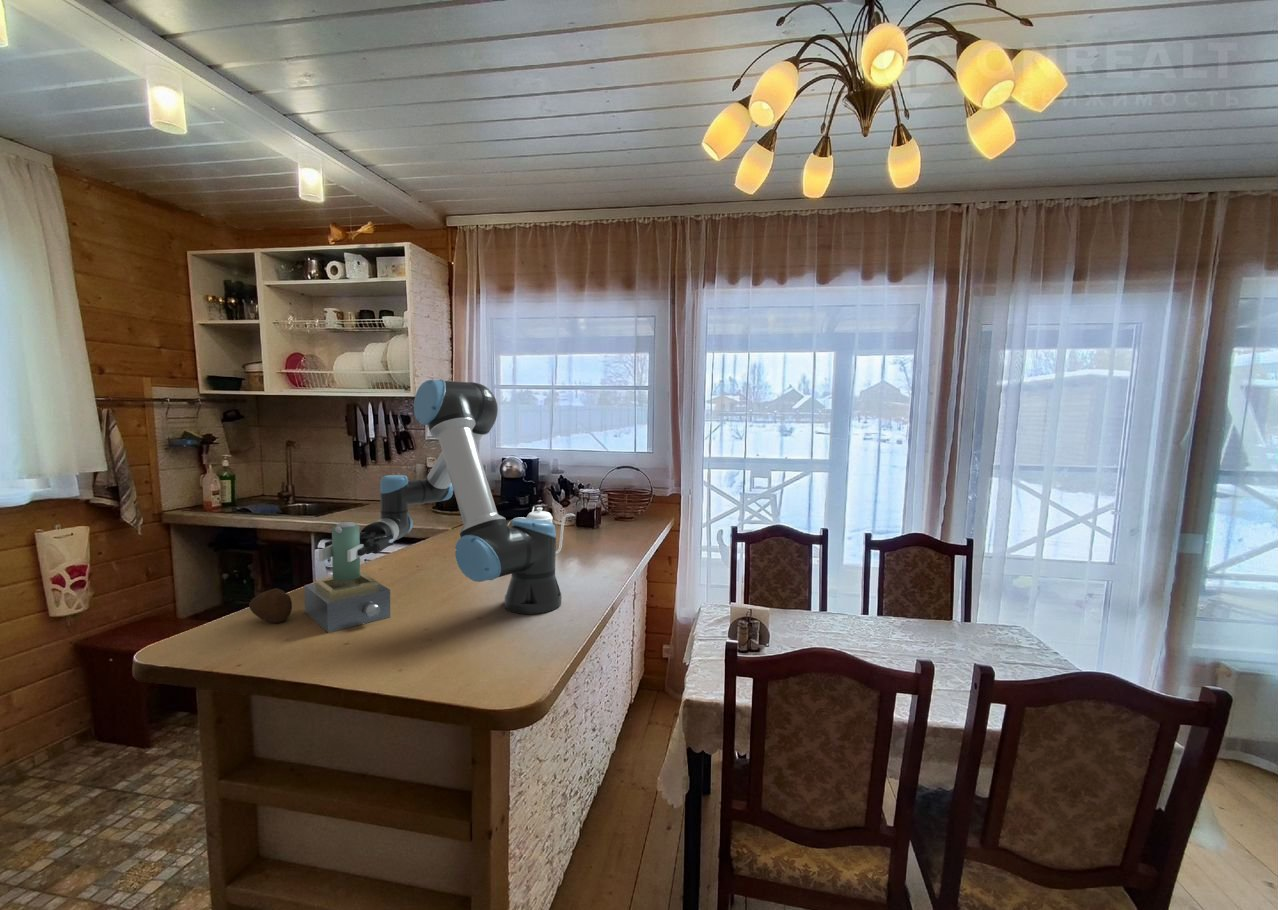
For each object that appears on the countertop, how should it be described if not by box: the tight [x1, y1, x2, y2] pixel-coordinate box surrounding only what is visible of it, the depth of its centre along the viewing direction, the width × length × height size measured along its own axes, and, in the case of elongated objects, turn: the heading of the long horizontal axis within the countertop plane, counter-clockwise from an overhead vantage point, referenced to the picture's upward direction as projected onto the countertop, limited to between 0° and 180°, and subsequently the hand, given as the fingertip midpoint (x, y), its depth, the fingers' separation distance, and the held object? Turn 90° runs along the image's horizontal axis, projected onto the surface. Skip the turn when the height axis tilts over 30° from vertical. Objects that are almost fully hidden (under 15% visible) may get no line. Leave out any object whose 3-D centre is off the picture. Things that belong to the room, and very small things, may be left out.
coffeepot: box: [507, 507, 576, 554], centre depth 185 cm, size 11×25×19 cm, turn 84°
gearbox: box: [304, 572, 391, 633], centre depth 130 cm, size 21×14×8 cm, turn 47°
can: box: [331, 521, 361, 582], centre depth 129 cm, size 7×6×14 cm
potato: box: [248, 587, 293, 624], centre depth 126 cm, size 7×10×8 cm
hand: (334, 555), depth 125 cm, fingers closed on can, 6 cm apart
